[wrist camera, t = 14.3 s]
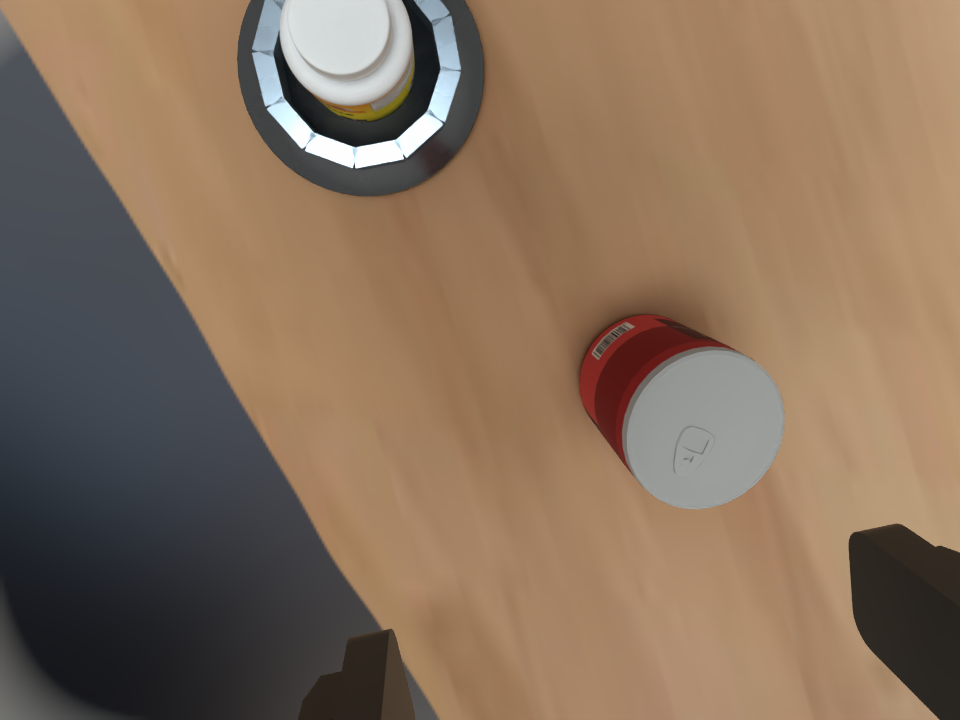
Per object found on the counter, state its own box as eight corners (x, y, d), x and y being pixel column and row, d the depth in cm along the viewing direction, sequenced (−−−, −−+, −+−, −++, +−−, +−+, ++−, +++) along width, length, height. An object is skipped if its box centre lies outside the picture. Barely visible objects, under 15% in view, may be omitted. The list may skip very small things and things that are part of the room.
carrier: (281, -97, 35) (264, -131, 32) (515, -2, 37) (524, -23, 34) (216, 149, 38) (194, 143, 34) (439, 227, 39) (439, 230, 36)
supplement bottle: (287, 61, 36) (233, 6, 26) (367, -10, 35) (343, -95, 25) (358, 147, 37) (332, 126, 27) (437, 79, 37) (439, 32, 27)
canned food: (567, 430, 43) (613, 505, 32) (586, 305, 41) (641, 340, 30) (684, 440, 44) (766, 517, 33) (707, 318, 42) (803, 357, 31)
